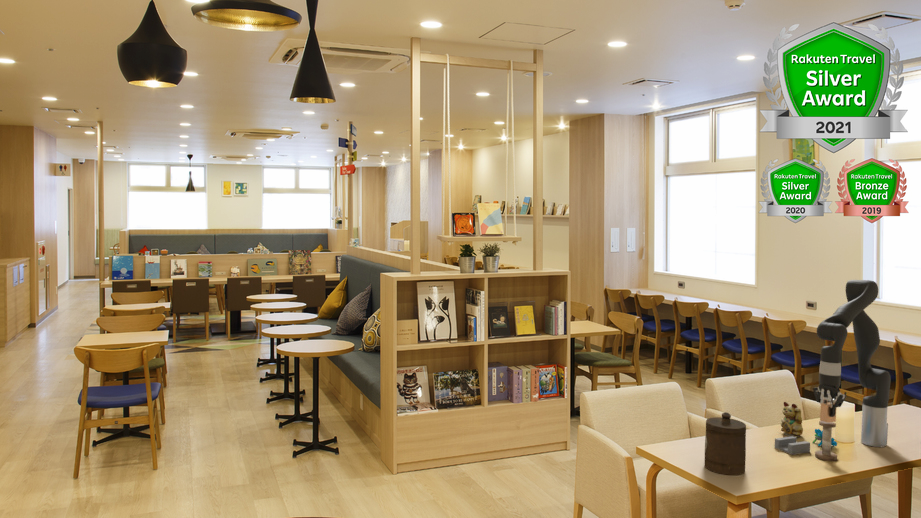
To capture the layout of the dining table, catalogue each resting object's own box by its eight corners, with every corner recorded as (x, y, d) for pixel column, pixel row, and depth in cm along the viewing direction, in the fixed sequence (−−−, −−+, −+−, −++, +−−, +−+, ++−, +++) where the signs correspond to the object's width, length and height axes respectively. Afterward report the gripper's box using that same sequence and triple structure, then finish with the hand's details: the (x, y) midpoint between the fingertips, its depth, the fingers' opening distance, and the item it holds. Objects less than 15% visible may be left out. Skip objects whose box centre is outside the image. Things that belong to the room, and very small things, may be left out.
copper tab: (828, 419, 262) (829, 402, 262) (835, 421, 259) (836, 404, 259) (819, 420, 260) (820, 403, 260) (826, 422, 257) (827, 405, 257)
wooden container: (719, 458, 264) (721, 405, 263) (753, 470, 252) (755, 415, 251) (696, 465, 256) (698, 411, 255) (729, 478, 244) (731, 420, 243)
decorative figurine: (777, 433, 298) (778, 401, 297) (787, 430, 303) (788, 398, 302) (797, 439, 290) (798, 406, 289) (807, 436, 295) (809, 403, 294)
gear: (843, 446, 277) (826, 429, 277) (834, 456, 276) (818, 439, 276) (826, 441, 288) (810, 425, 288) (817, 451, 287) (802, 435, 287)
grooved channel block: (792, 445, 282) (792, 436, 282) (809, 452, 274) (810, 442, 273) (774, 447, 279) (774, 438, 278) (791, 454, 270) (792, 445, 270)
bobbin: (824, 453, 272) (826, 419, 272) (841, 459, 265) (843, 424, 264) (810, 455, 270) (811, 420, 269) (827, 461, 262) (828, 426, 261)
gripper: (852, 376, 254) (850, 419, 255) (821, 368, 267) (819, 410, 268) (839, 377, 251) (837, 421, 252) (808, 369, 264) (806, 411, 265)
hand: (827, 415), depth 260 cm, fingers closed on copper tab, 2 cm apart
